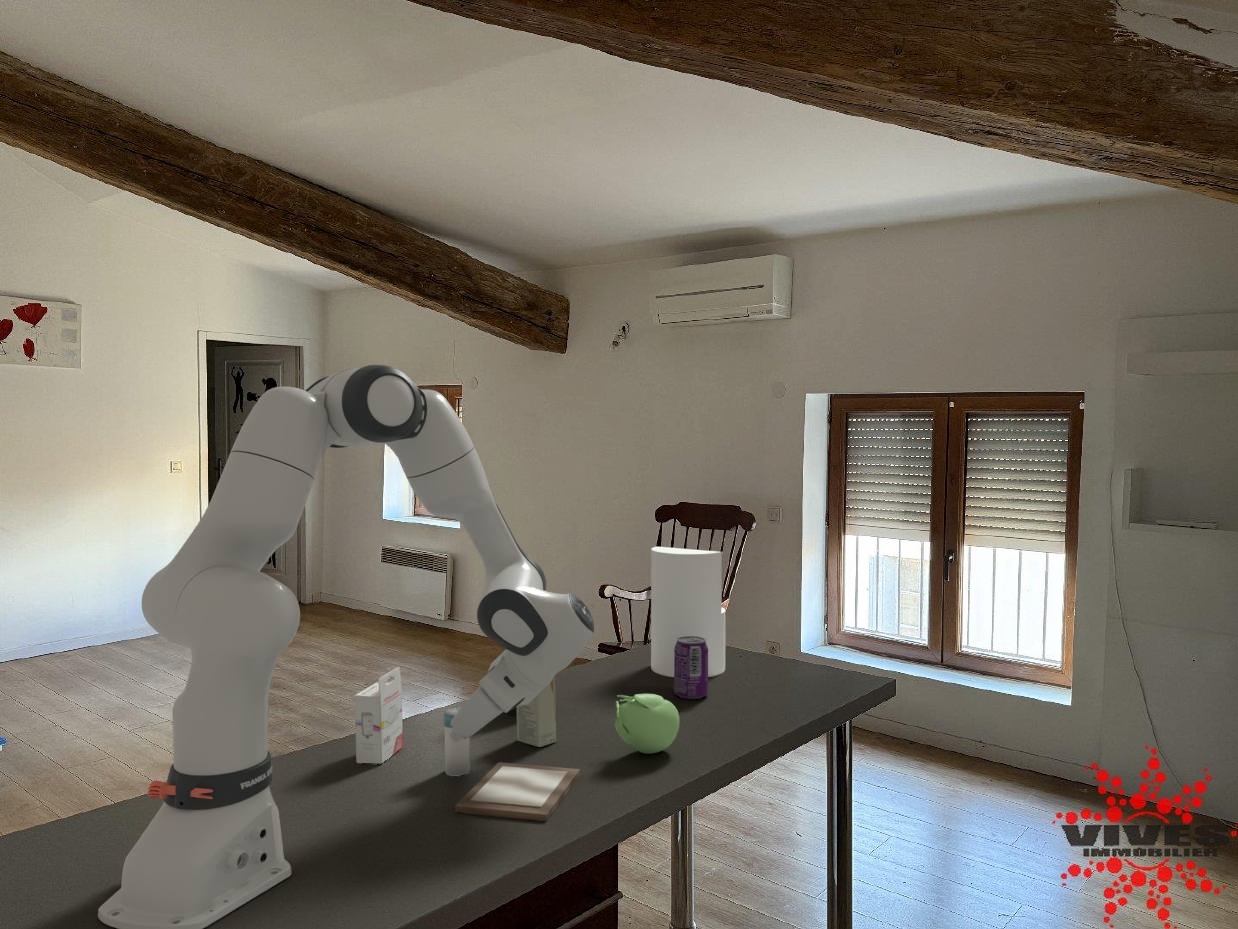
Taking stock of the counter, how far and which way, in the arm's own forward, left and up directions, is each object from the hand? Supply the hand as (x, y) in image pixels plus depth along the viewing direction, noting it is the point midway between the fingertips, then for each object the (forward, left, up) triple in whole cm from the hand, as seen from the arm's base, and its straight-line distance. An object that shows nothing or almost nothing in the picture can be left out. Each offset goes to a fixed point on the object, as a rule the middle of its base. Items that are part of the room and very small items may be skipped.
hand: (460, 732), depth 152 cm
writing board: (-6, -12, -7) cm, 15 cm away
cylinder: (+73, -26, -7) cm, 78 cm away
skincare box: (+17, -7, -7) cm, 20 cm away
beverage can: (+51, -30, -7) cm, 60 cm away
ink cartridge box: (+4, +17, -7) cm, 18 cm away
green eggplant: (+15, -27, -7) cm, 32 cm away
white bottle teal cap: (0, +1, -7) cm, 7 cm away
